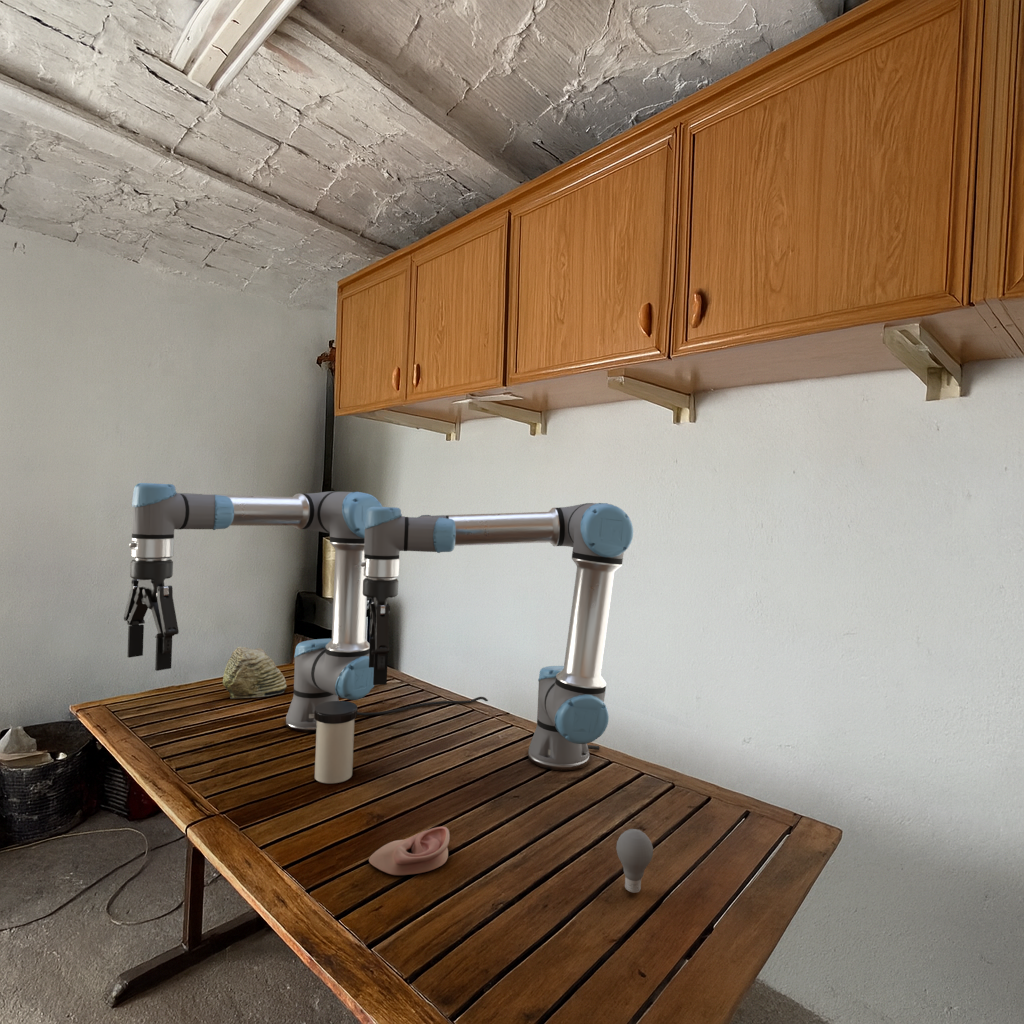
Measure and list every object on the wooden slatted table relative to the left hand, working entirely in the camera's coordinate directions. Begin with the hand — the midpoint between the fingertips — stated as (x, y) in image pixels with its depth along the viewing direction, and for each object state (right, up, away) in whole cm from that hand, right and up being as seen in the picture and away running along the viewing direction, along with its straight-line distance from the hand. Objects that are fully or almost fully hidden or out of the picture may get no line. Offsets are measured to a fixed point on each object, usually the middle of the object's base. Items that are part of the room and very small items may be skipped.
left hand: (148, 662), depth 129 cm
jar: (+34, -29, +15) cm, 47 cm away
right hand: (+45, -5, +8) cm, 46 cm away
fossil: (-6, -27, +69) cm, 74 cm away
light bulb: (+94, -33, -24) cm, 103 cm away
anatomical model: (+56, -31, -17) cm, 66 cm away
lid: (+34, -14, +15) cm, 40 cm away
